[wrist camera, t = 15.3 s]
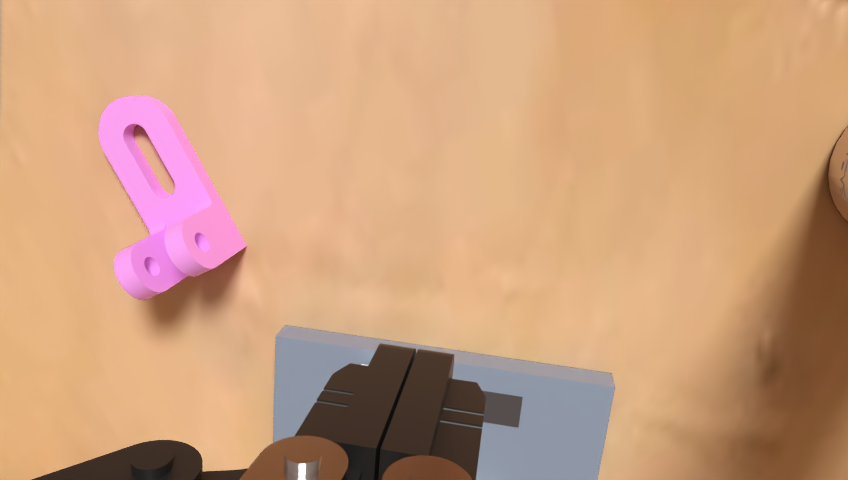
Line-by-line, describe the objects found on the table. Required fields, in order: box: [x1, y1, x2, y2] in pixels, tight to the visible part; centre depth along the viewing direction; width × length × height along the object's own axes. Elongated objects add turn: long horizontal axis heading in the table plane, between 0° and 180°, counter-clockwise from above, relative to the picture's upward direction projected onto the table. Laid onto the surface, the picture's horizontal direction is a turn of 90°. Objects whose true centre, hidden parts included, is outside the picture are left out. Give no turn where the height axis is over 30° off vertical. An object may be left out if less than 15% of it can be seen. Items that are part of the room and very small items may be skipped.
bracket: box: [99, 95, 247, 300], centre depth 44 cm, size 13×6×7 cm, turn 27°
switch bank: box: [273, 325, 615, 480], centre depth 49 cm, size 24×16×2 cm, turn 85°
